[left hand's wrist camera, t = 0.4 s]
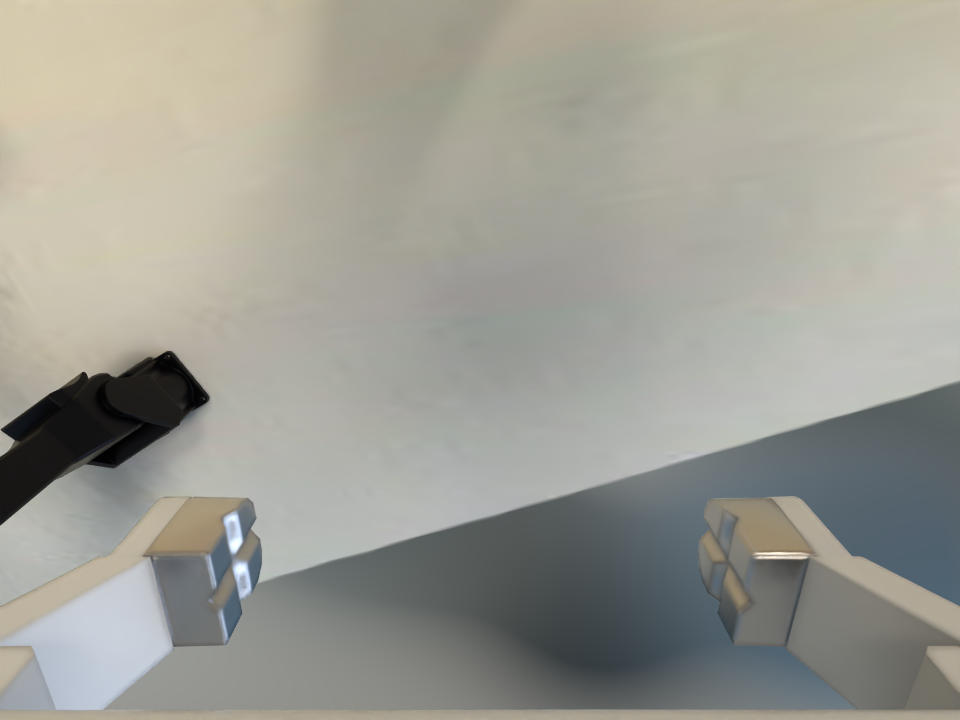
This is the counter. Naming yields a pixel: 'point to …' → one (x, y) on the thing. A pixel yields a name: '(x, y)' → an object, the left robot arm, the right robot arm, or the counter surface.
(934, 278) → the counter surface
